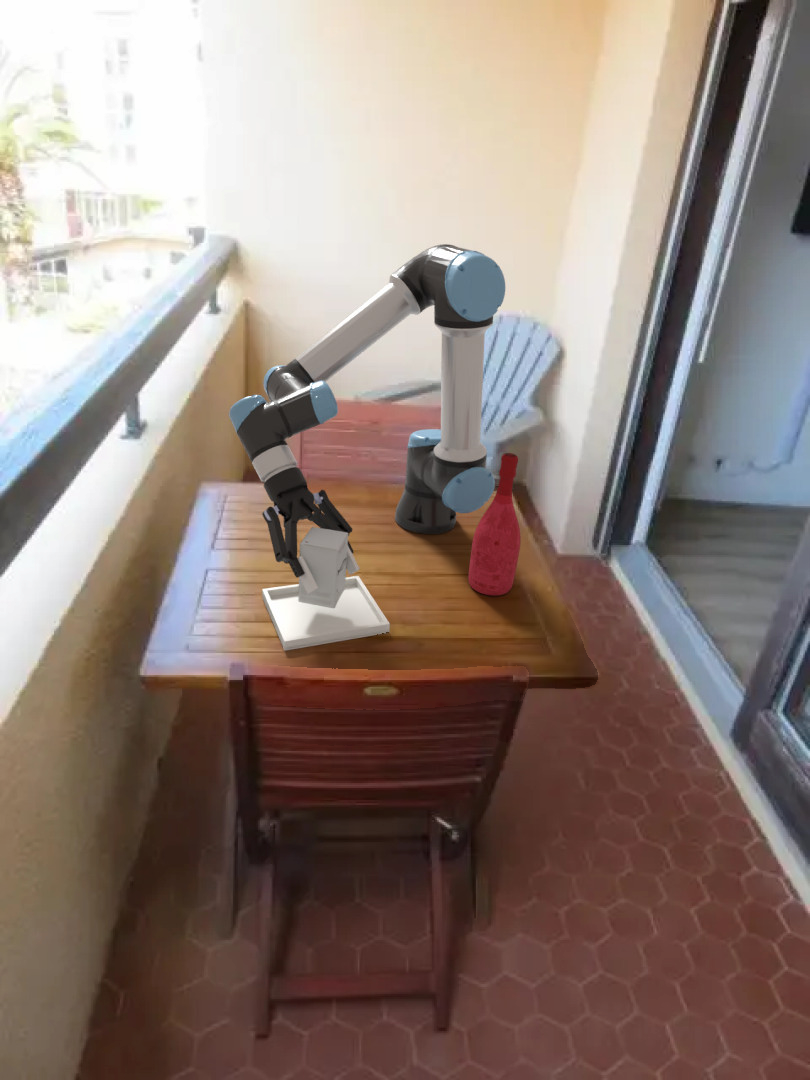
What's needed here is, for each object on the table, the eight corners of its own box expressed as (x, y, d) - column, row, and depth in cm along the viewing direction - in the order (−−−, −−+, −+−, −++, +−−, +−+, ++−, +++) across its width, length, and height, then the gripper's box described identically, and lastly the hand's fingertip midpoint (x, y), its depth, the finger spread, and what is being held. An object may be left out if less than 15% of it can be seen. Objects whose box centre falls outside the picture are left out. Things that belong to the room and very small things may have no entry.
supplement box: (335, 609, 133) (338, 550, 127) (297, 602, 134) (298, 542, 128) (346, 589, 139) (349, 531, 133) (309, 582, 140) (311, 525, 134)
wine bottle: (516, 580, 156) (539, 451, 142) (507, 602, 148) (530, 467, 134) (473, 570, 158) (491, 441, 144) (461, 591, 150) (479, 457, 136)
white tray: (357, 583, 149) (358, 575, 148) (389, 632, 135) (389, 623, 134) (262, 597, 142) (262, 589, 141) (284, 650, 127) (284, 641, 127)
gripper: (316, 470, 144) (366, 568, 143) (222, 498, 129) (277, 608, 127) (334, 453, 139) (387, 555, 137) (239, 480, 124) (297, 596, 122)
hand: (334, 581), depth 132 cm, fingers closed on supplement box, 10 cm apart
